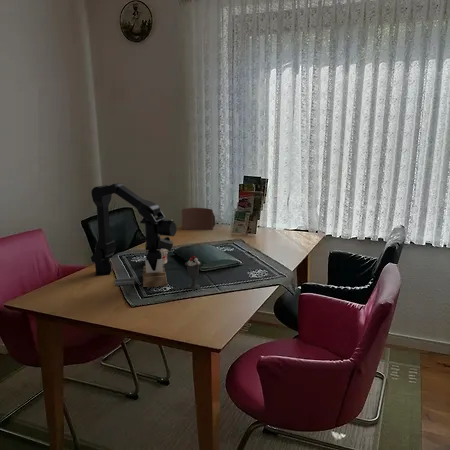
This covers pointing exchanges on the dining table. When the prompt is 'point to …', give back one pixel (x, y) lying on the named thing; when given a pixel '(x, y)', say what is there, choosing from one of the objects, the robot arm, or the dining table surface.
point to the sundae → (193, 270)
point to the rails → (124, 281)
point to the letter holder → (198, 219)
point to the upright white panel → (158, 266)
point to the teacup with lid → (164, 255)
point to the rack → (154, 278)
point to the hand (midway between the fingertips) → (154, 269)
